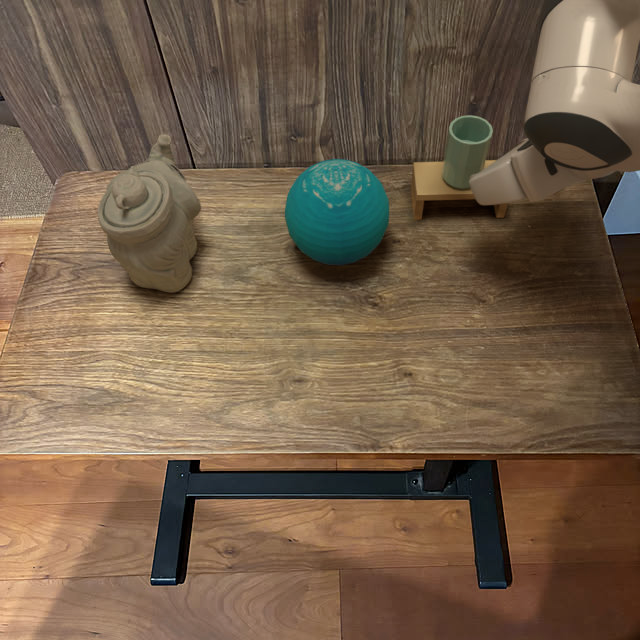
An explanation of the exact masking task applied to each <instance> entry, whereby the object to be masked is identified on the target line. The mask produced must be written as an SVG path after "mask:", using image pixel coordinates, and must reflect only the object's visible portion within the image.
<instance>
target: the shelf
mask: <svg viewBox="0 0 640 640" xmlns="http://www.w3.org/2000/svg"><path fill="white" fill-rule="evenodd" d="M497 160H498V159H493V160H487V159H486V163H485V167H484V169H485V168H486V167H488V166H489V165H491V164H492V163H494V162H495V161H497ZM412 163H413V164H412V172H411V180H410V196H411V204H412V205H411V206H412V214H413V220H414V221H421V220H422V218H423V212H424V206H425V201H455V200H457V201H458V200H460V201H461V200H476V199H475V197H474V195H473V193H472V190H471V188H467V189H458V188H454V187H452V186H450V185H449V184H448V183H447V182H446V181H445V180H444V178H443V176H442V167H443V161H418V162H417V161H416V162H415V161H414V162H412ZM508 205H509V203H505V204H496V205H493V207H494V213H495V218H496V219H504V218H505V215H506V212H507V210H508V209H507V208H508Z"/></svg>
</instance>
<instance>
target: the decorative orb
mask: <svg viewBox="0 0 640 640" xmlns="http://www.w3.org/2000/svg"><path fill="white" fill-rule="evenodd" d="M284 220H285V224H286V228H287V231H288V235H289V237H290V239H291V240H292V241H293V243H294V244H295V246H297V248H298V249H299V250H300V251H301V253H303V254H304V255H306V256H307V257H308V258H310V259H311V260H313V261H314V262H318V263H321V264H325V265H329V266H345V265H350V264H354V263H357V262H358V261H360V260H362V259H364V258H365V257H368V256H369V255H370V254H371V253H372V252H373V251H374V250H375V249H376V248H377V247H378V246H379V245H380V243H381V242H382V240H383V238H384V235H385V234H386V232H387V229H388V227H389V222H390V201H389V197H388V195H387V193H386V190H385V188H384V185H383V184H382V181H380V179H379V178H378V177H377V176H376V175H375V174H374V173H373V172H372V171H371V170H370V169H369V168H367V167H365V166H363V165H362V164H360V163H359V162H357V161H353V160H349V159H345V158H331V159H326V160H321V161H319V162H317V163H314V164H312V165H310V166H309V167H307V168H306V169H305V170H304V171H302V172H301V173H300V174H299V175H298V176H297V177H296V179H295V181H294V182H293V184H292V185H291V186H290V188H289V190H288V192H287V196H286V200H285V206H284Z"/></svg>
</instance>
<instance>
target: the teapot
mask: <svg viewBox="0 0 640 640" xmlns="http://www.w3.org/2000/svg"><path fill="white" fill-rule="evenodd" d="M171 144H172V138H171V136H170V135H169V134H165V133H163V134H160V135H159V136H158V138H157V142H156V143H155V144H153V146H152V147H151V149H150V152H149V155H148V159H146V160H144V161H141V162H139V163H137V164H135V165H131V166H130V168H128V169H126V170H124V171H122V172H120V173H118V174H117V175H115V176H114V177H112V178H111V179H110V181H109V182H108V184H107V185H106V190H105V192H104V194H103V195H102V197H101V199H100V201H99V203H98V207H97V222H98V223H99V226H100V228H101V229H102V231H103V232H104V233H105V234H106V242H107V247H108V250H109V252H110V254H111V255H112V256H113V258H114V260H116V261H117V262H118V263H119V265H120V267H121V268H122V269H123V270H124V271H125V272H127V273H128V276H129V279H130V280H131V281H132V283H133V284H134V285H136V286H138V287H141V288H144V289H154V290H158V291H161V292H164V293H177V292H180V291H182V289H184V288H185V287H186V286H187V285H188V284H189V283H190V281H191V280H192V277H193V267H192V264H191V262H190V261H191V260H192V258H193V257H194V256H195V254H196V252H197V250H198V241H197V239H196V237H195V229H194V225H193V222H192V221H193V220H194V219H195V218H196V217H197V216H198V215H199V214H200V212H201V211H202V205H201V202H200V200H199V198H198V196H197V194H196V193H195V191H194V190H193V188H192V187H191V186H190V184H189V183H188V182H187V178H186V176H185V175H184V173H183V172H182V171H181V170H180V168H179V167H177V165H176V163H175V162H176V161H175V158H174V155H173V152H172V149H171Z"/></svg>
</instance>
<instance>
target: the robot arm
mask: <svg viewBox="0 0 640 640" xmlns="http://www.w3.org/2000/svg"><path fill="white" fill-rule="evenodd" d="M538 31H539V33H538V38H539V39H538V43H537V49H536V53H535V59H534V64H533V69H532V74H531V79H530V86H529V87H530V88H529V93H528V98H527V104H526V109H525V114H524V123H523V132H524V134H525V136H526V138H523V139H522V140H520V141H519V142H518V143H516V145H515V147H514V148H512V149H511V150H510V151H508V152H507V153H505V154H504V155H503V156H501V157H499V158H498V159H496V160H497V161H495V162H494V163H492V164H491V165H489V166H488V167H486V168H485V169H484V170H481V171H477V172H476V173H474V174H473V175H471V176H470V180H469V185H470V188H471V190H472V193H473V195H474V197H475V199H474V200H475V201H476V202H477V203H478V204H479V205H480V206H494V205H496V204H505V203H508V204H511V203H516V202H520V201H523V200H525V199H528V201H529V202H530V203H538V202H542V201H544V200H546V199H548V198H550V197H552V196H554V195H556V194H557V193H560V192H562V191H563V190H566V189H568V188H570V187H572V186H575V185H578V184H579V185H580V184H583V183H585V182H586V181H590V180H595V179H601V178H604V177H607V176H610V175H612V174H614V173H615V172H623V173H634V172H639V171H640V84H638V83H634V82H632V80H633V75H634V71H635V65H636V59H637V55H638V50H639V44H640V0H543V2H542V6H541V14H540V24H539V30H538Z"/></svg>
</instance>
